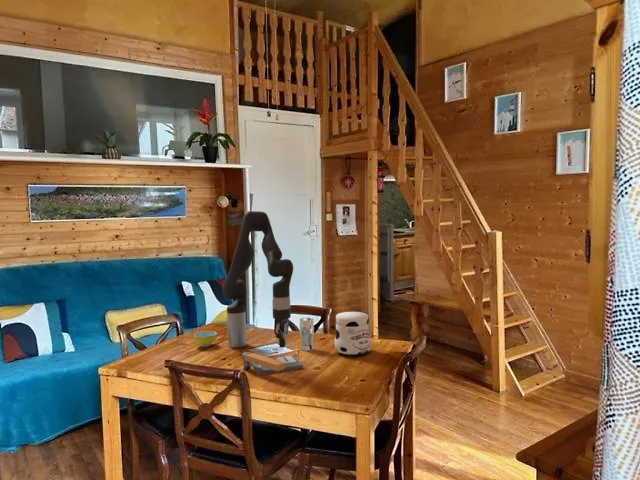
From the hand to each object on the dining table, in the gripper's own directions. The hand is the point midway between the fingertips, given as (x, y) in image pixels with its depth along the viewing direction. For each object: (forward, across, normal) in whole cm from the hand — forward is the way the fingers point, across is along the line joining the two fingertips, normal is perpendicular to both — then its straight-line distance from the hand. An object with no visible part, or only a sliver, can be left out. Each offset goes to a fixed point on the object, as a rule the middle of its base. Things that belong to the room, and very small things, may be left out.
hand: (282, 346), depth 204 cm
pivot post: (+11, +1, -16) cm, 19 cm away
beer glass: (+11, -32, +1) cm, 34 cm away
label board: (+11, -5, -5) cm, 13 cm away
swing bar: (+6, +5, -7) cm, 11 cm away
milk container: (+11, -31, +24) cm, 41 cm away
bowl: (+12, -28, -52) cm, 60 cm away
